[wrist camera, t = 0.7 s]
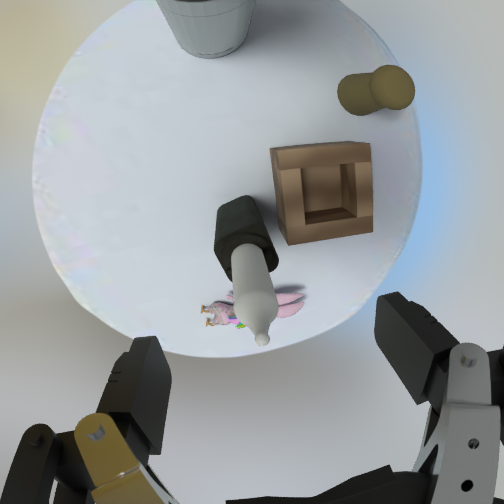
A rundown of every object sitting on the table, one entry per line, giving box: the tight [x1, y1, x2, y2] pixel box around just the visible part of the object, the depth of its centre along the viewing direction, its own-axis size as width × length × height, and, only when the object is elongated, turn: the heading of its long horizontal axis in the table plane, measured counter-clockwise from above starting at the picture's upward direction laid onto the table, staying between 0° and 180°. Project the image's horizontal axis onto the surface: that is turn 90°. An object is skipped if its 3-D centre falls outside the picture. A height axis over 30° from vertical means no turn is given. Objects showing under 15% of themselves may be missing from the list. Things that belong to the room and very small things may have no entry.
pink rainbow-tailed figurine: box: [200, 293, 304, 329], centre depth 41 cm, size 6×6×15 cm
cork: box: [337, 65, 415, 116], centre depth 28 cm, size 6×6×11 cm
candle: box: [214, 195, 279, 346], centre depth 27 cm, size 5×5×25 cm
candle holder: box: [270, 141, 373, 246], centre depth 35 cm, size 11×11×6 cm
